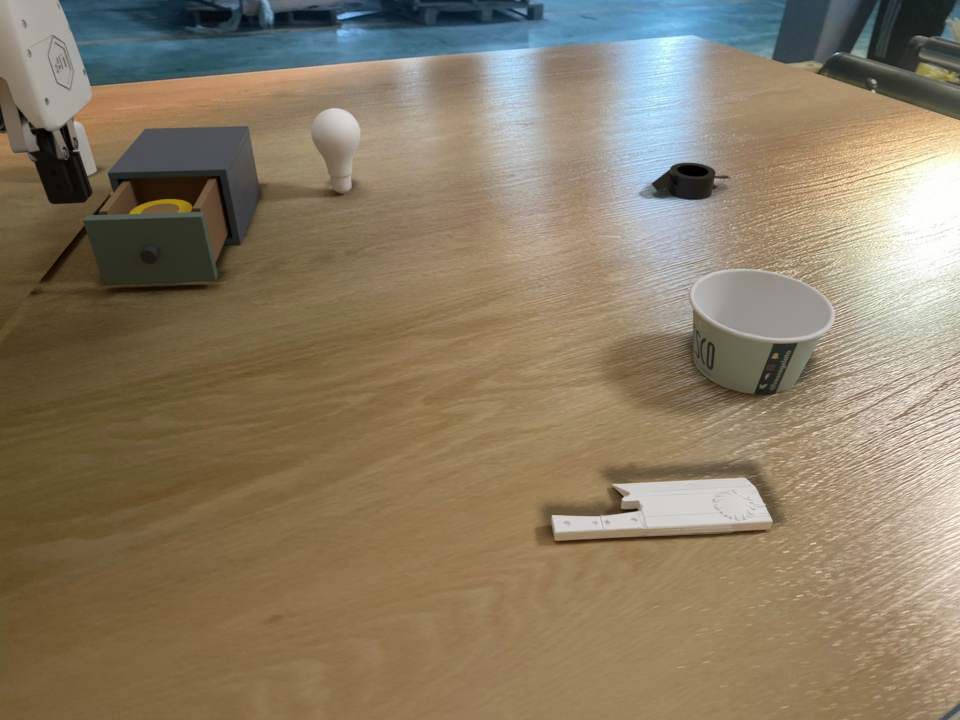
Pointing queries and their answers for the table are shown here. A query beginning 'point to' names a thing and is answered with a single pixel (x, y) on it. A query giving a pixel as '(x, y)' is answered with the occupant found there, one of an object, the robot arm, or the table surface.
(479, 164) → the table surface
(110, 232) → the drawer
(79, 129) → the eye dropper bottle
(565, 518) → the butcher knife
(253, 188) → the cabinet
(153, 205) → the tape roll
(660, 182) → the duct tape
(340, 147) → the lightbulb
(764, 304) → the food container
